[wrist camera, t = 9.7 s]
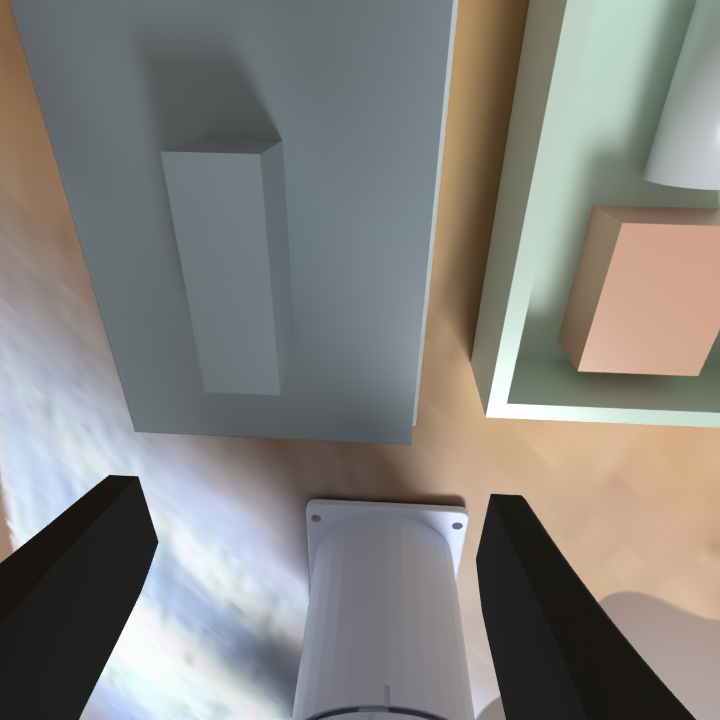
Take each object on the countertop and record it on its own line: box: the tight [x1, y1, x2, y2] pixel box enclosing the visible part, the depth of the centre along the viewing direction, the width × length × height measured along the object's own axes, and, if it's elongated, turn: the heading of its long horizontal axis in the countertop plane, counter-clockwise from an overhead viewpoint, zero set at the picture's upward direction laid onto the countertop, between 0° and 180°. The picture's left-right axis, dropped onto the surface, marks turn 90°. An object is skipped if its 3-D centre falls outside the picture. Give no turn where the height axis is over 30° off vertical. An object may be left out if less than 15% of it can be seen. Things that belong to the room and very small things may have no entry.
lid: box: [9, 0, 453, 445], centre depth 15 cm, size 15×11×4 cm
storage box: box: [471, 0, 720, 427], centre depth 14 cm, size 14×10×4 cm
